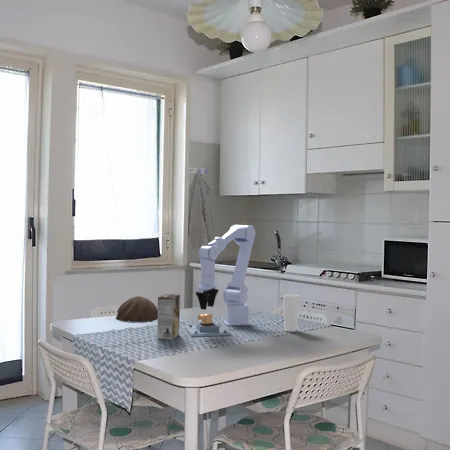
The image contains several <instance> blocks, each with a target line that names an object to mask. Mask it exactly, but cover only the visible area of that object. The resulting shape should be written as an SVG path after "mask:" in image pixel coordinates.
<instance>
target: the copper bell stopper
mask: <svg viewBox="0 0 450 450" xmlns="http://www.w3.org/2000/svg"><path fill="white" fill-rule="evenodd" d="M197 321H199V322H201V323H202V326H212V322H213V314H211V313H203V314H198V315H197Z"/></svg>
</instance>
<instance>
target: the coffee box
mask: <svg viewBox="0 0 450 450" xmlns="http://www.w3.org/2000/svg"><path fill="white" fill-rule="evenodd" d="M180 296H181V294H171V293H169V294H168V293H167V294H165V293H164V294H163V295H161V296H159V297H157V310H158V319H157V333H156V334H157V335H156V336H157V339H158V340H170V341H171V340H174V339H176V338H177V337H178V336H179V335H180V310H181V308H180V307H181V306H180V304H181V303H180V302H181V300H180V299H181V298H180Z"/></svg>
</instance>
